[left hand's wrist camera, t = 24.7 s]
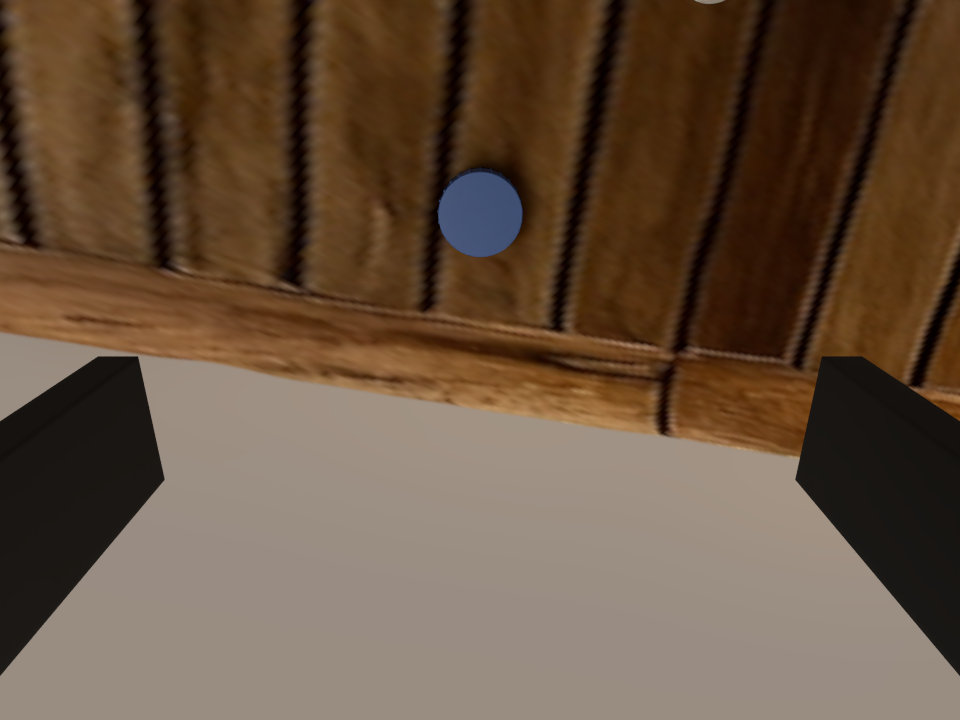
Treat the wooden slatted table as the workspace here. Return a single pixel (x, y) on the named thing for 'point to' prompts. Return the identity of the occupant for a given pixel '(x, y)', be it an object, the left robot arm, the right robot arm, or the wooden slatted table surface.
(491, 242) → the lid
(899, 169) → the wooden slatted table surface
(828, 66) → the wooden slatted table surface
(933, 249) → the wooden slatted table surface
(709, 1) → the white bottle
